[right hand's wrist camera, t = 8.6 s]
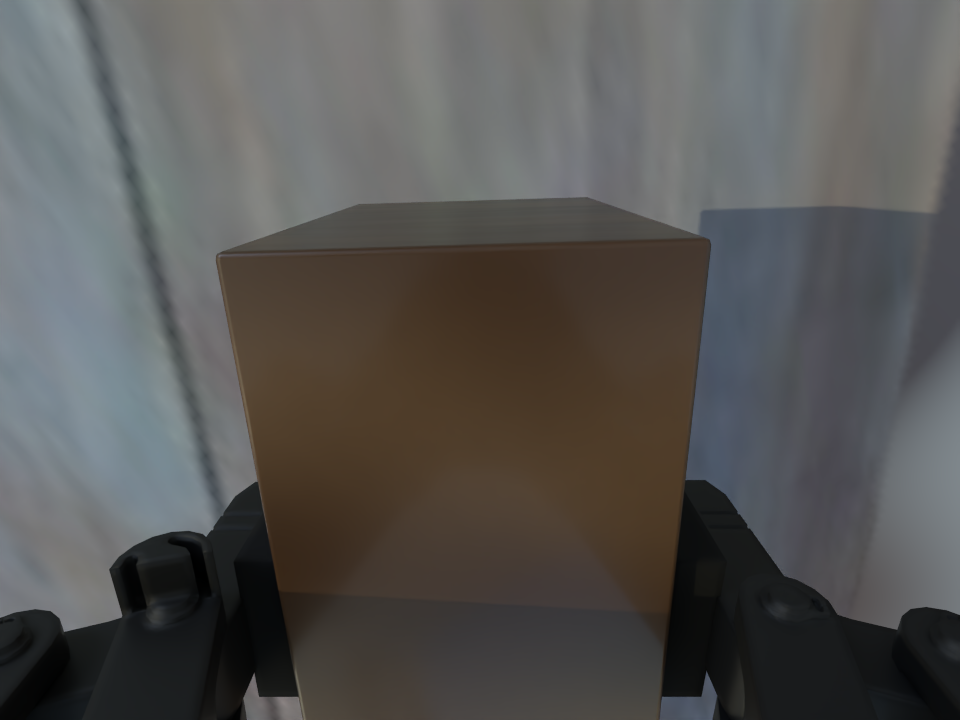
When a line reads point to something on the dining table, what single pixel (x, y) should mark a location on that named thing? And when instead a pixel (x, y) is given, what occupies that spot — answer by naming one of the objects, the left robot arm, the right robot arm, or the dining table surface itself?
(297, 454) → the post
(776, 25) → the dining table surface
